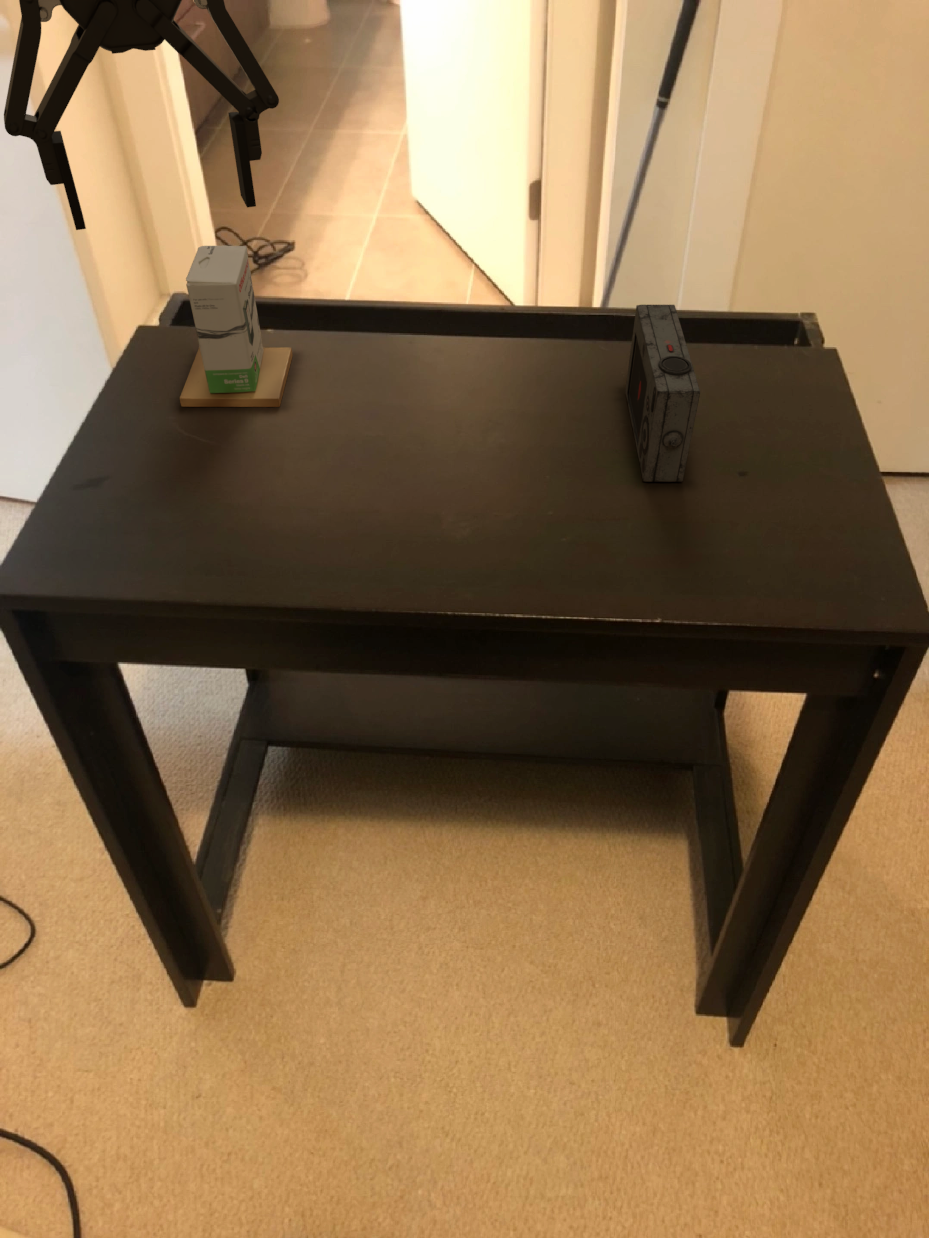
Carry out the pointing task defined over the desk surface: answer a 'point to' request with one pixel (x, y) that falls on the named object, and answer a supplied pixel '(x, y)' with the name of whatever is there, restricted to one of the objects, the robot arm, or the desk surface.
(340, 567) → the desk surface
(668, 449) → the camera
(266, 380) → the cork mat
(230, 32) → the robot arm
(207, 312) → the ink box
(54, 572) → the desk surface
